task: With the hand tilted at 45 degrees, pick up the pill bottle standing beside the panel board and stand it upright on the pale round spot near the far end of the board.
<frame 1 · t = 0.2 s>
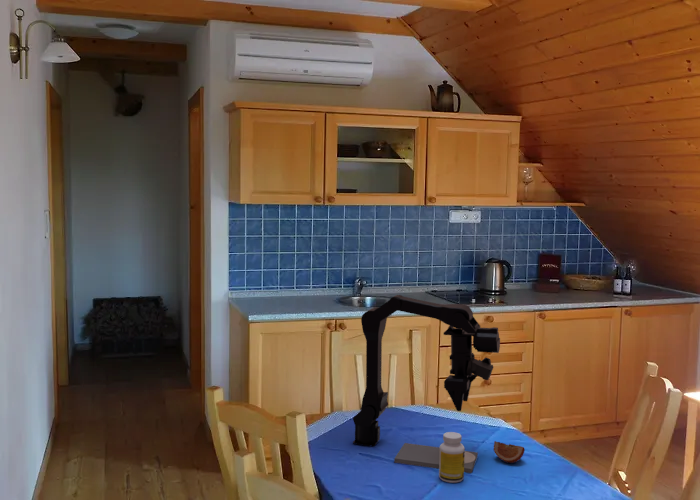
hand: (462, 405, 201), 14 cm above the table, tool pointing down, fingers open, 9 cm apart
pill bottle: (451, 479, 187), on the table
panel board: (436, 459, 199), on the table
fruit slice: (508, 461, 199), on the table
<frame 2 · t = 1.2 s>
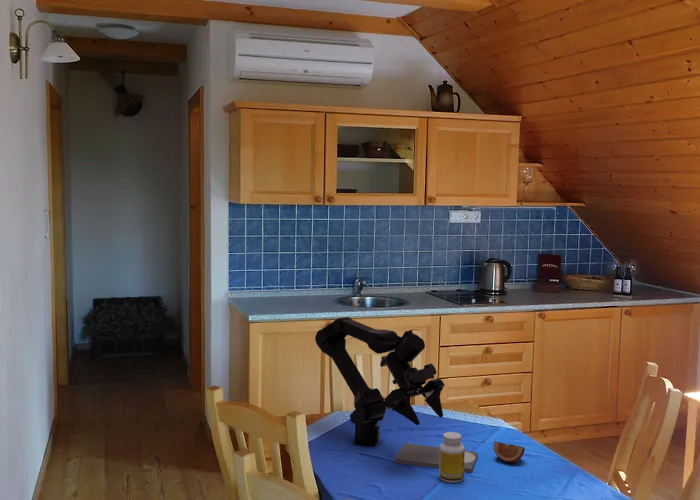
hand: (430, 420, 192), 13 cm above the table, tool tilted 45°, fingers open, 9 cm apart
nothing on the table moved.
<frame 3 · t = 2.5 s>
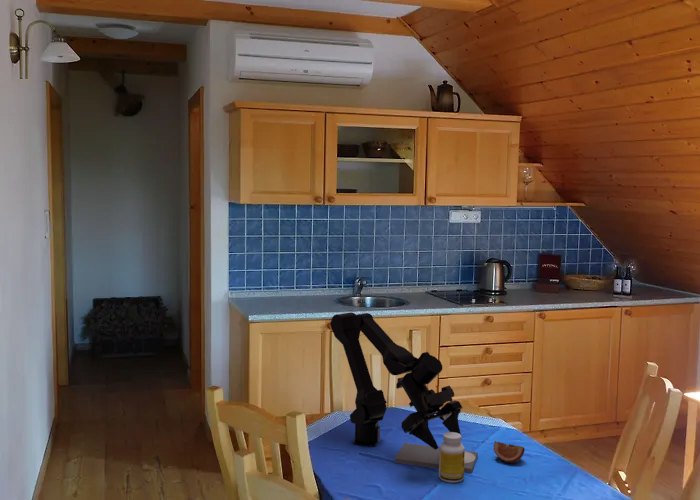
hand: (448, 444, 187), 9 cm above the table, tool tilted 45°, fingers open, 9 cm apart
nothing on the table moved.
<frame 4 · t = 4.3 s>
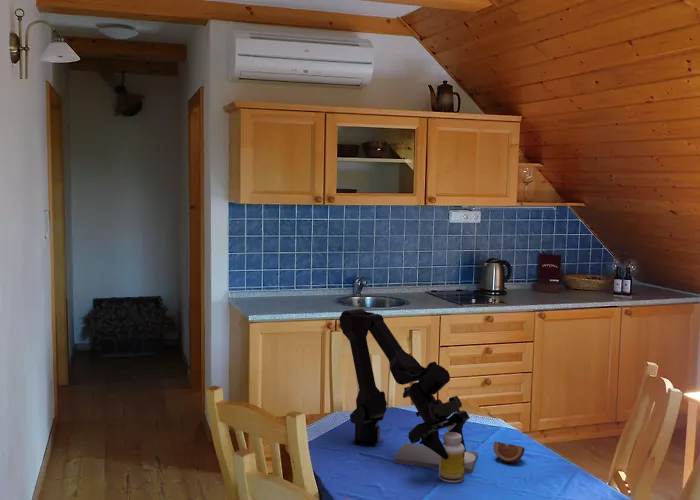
hand: (456, 455, 185), 7 cm above the table, tool tilted 45°, fingers closed on pill bottle, 6 cm apart
pill bottle: (451, 479, 187), on the table, touching gripper
everything else where it was.
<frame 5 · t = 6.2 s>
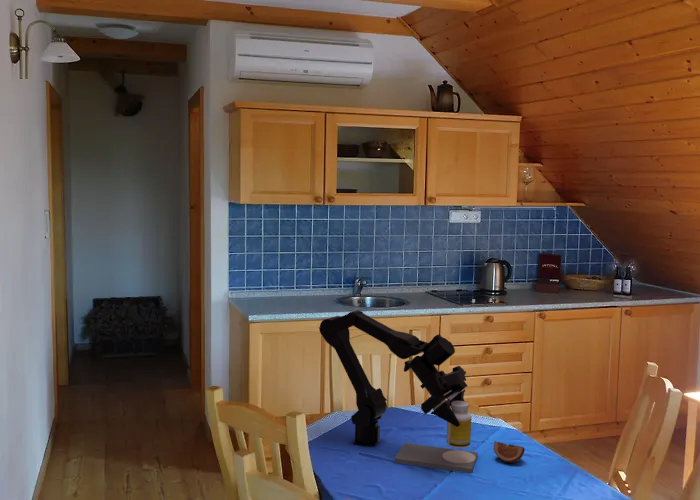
hand: (463, 422, 194), 12 cm above the table, tool tilted 45°, fingers closed on pill bottle, 6 cm apart
pill bottle: (458, 445, 196), point 5 cm above the table, touching gripper
everything else where it was.
when the fingers open (8 cm above the table, at t = 8.2 s): pill bottle stays where it is, resting on panel board.
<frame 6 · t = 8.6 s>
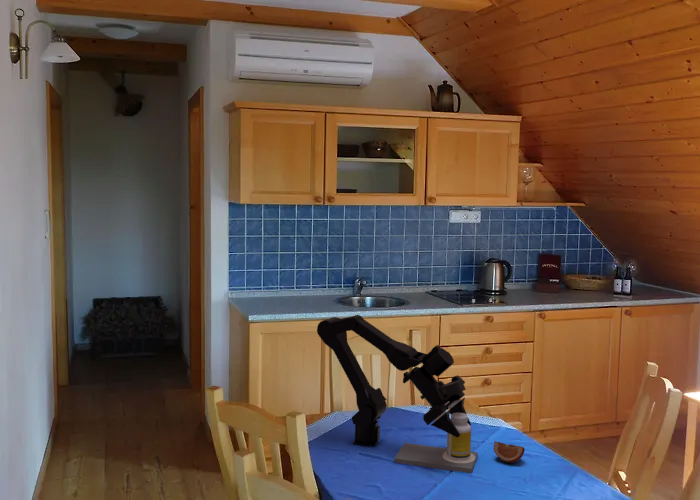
hand: (464, 431, 197), 9 cm above the table, tool tilted 45°, fingers open, 9 cm apart
pill bottle: (458, 457, 198), point 1 cm above the table, touching panel board
everything else where it was.
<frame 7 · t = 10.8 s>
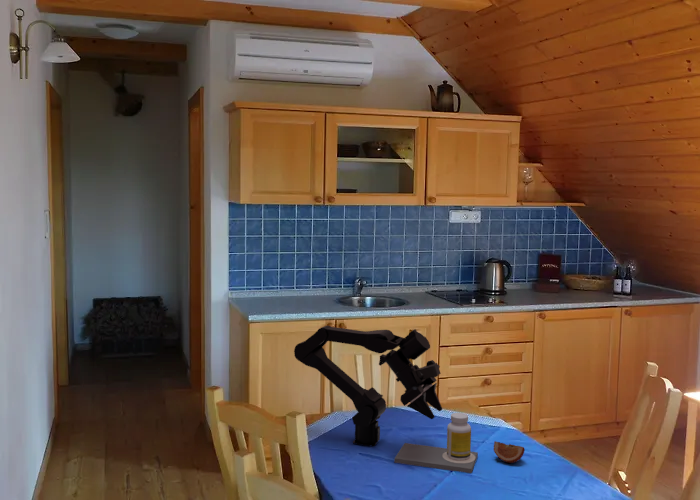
hand: (437, 414, 202), 12 cm above the table, tool tilted 40°, fingers open, 9 cm apart
nothing on the table moved.
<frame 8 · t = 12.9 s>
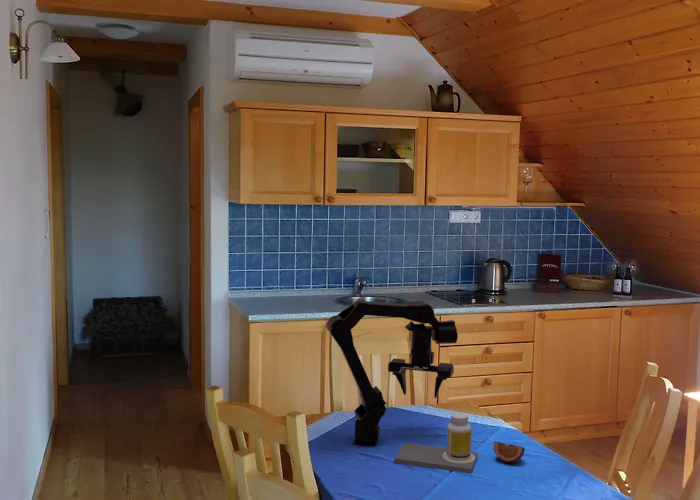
hand: (420, 396, 214), 13 cm above the table, tool pointing down, fingers open, 9 cm apart
nothing on the table moved.
at the end: pill bottle inside the target area (0.1 cm from its centre), point 1.1 cm above the table; pill bottle tilted 0°; the gripper is holding nothing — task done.
